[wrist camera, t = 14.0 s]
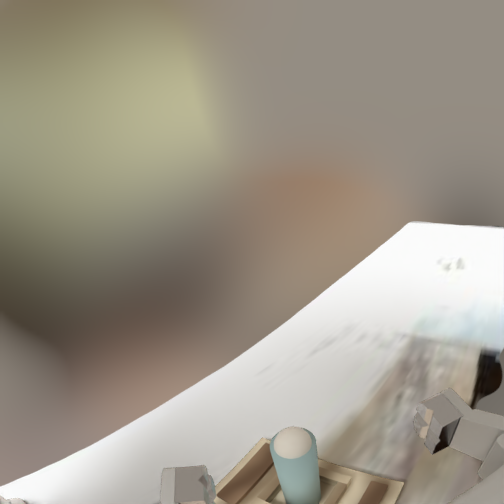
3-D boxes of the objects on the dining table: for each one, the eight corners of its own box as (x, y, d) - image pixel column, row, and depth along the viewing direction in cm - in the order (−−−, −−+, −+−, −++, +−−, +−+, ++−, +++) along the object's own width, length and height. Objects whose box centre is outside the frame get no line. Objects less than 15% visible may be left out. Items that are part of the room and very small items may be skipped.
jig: (207, 500, 32) (200, 490, 31) (263, 441, 42) (260, 430, 41) (356, 569, 19) (358, 564, 18) (402, 486, 28) (406, 476, 27)
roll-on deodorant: (278, 503, 30) (257, 441, 25) (297, 479, 33) (283, 411, 28) (309, 516, 27) (298, 458, 22) (327, 491, 30) (323, 424, 25)
